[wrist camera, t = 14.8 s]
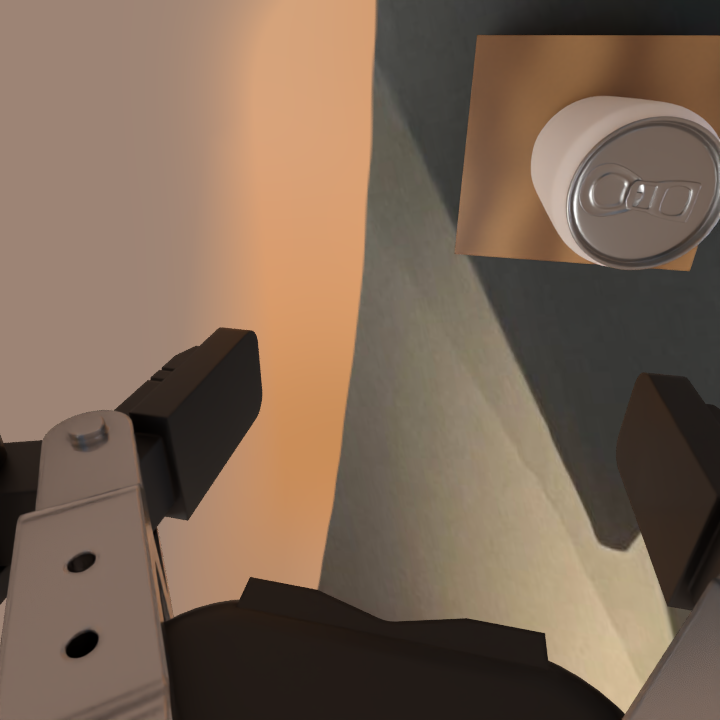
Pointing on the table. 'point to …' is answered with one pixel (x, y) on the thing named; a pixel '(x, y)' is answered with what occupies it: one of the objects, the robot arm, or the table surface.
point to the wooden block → (545, 99)
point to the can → (628, 180)
